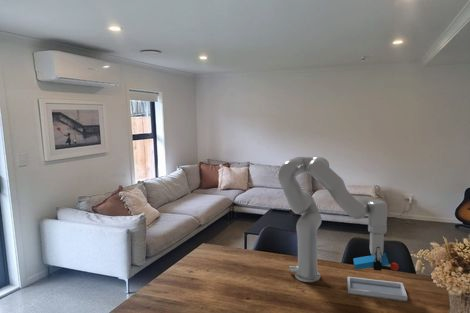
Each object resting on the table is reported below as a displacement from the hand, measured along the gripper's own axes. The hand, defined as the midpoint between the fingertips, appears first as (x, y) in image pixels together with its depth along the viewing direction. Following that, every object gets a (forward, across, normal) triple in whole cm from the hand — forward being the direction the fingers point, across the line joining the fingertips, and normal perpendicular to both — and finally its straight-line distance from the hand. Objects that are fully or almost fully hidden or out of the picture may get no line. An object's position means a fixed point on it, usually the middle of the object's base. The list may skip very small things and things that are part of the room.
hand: (376, 266), depth 149 cm
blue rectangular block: (+1, 0, 0) cm, 1 cm away
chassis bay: (+12, 0, 0) cm, 12 cm away
